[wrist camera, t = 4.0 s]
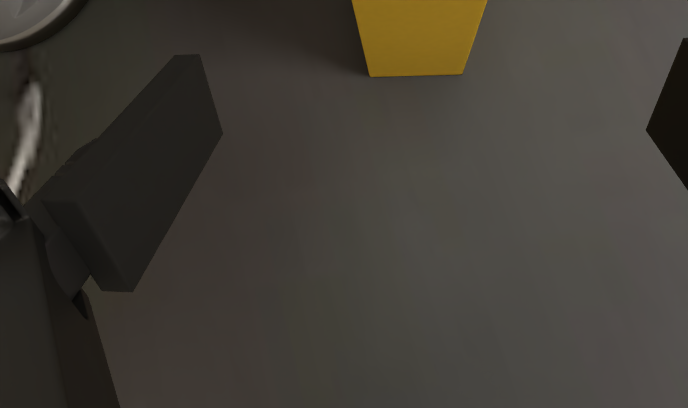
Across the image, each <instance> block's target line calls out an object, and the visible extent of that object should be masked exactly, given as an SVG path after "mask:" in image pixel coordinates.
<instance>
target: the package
mask: <svg viewBox="0 0 688 408" xmlns="http://www.w3.org/2000/svg"><path fill="white" fill-rule="evenodd" d="M486 3H487V0H352V4H353V9H354V13H355V17H356V21H357V25H358V29H359V34H360V38H361V42H362V46H363V50H364V55H365V59H366V63H367V67H368V71H369V75H370V77H384V76H421V75H458V74H462V73H463V70H464V67H465V64H466V61H467V59H468V56H469V53H470V50H471V47H472V44H473V41H474V38H475V35H476V32H477V29H478V26H479V23H480V20H481V18H482V15H483V12H484V9H485V6H486Z"/></svg>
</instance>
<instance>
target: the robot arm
mask: <svg viewBox="0 0 688 408" xmlns="http://www.w3.org/2000/svg"><path fill="white" fill-rule="evenodd" d="M87 1H88V0H0V52H6V51H14V50H19V49H23V48H26V47H29V46H32V45H34V44H37V43H39V42H41V41H43V40H45V39H47V38H49V37H50V36H52V35H53V34H55V33H57V32H58V31H59V30H61V29H62V28H63V27H64V26H66V25H67V24H68V23H69V22H70V21H71V20H72V19H73V18H74V17H75V16H76V15H77V14H78V13H79V12H80V10H81V9H82V8H83V7H84V5H85V4H86V3H87ZM646 131H647V133H648V134H649V136H650V137H651V138H652V140H653V141H654V143H655V144H656V146H657V147H658V148H659V150H660V151H661V153H662V154H663V156H664V157H665V158H666V160H667V161H668V163H669V164H670V166H671V167H672V168H673V170H674V171H675V173H676V174H677V176H678V177H679V178H680V180H681V181H682V183H683V184H684V186H685V187H686V188H687V190H688V38H683V40H682V42H681V45H680V47H679V50H678V52H677V55H676V57H675V60H674V62H673V65H672V67H671V69H670V72H669V74H668V77H667V79H666V82H665V84H664V87H663V89H662V91H661V94H660V96H659V99H658V101H657V104H656V106H655V109H654V111H653V113H652V116H651V118H650V121H649V123H648V126H647V128H646ZM222 134H223V132H222V129H221V125H220V122H219V119H218V115H217V112H216V109H215V105H214V102H213V99H212V95H211V92H210V89H209V85H208V82H207V79H206V75H205V72H204V68H203V65H202V62H201V58H200V55H199V54H194V55H175V56H174V57H173V58H172V59H171V60H170V61H169V62H168V63H167V64H166V65H165V66H164V68H163V69H162V70H161V71H160V72H159V73H158V74H157V75H156V76H155V77H154V78H153V79H152V80H151V81H150V83H149V84H148V85H147V86H146V87H145V88H144V89H143V90H142V91H141V92H140V93H139V94H138V95H137V97H136V98H135V99H134V100H133V101H132V102H131V103H130V104H129V105H128V106H127V107H126V108H125V109H124V111H123V112H122V113H121V114H120V115H119V116H118V117H117V118H116V119H115V120H114V121H113V122H112V123H111V124H110V126H109V127H108V128H107V129H106V130H105V131H104V132H103V133H102V134H101V135H100V136H99V137H98V138H95V139H94V140H92V141H91V142H89V143H87V144H86V145H84V146H83V147H81V148H79V149H78V150H77V151H76V152H75V153H74V154H73V155H72V156H71V157H70V158H69V159H68V160H67V161H66V162H65V165H62V166H61V167H60V168H59V169H58V170H57V171H56V173H55V176H52V177H51V178H50V179H49V180H48V181H47V182H46V183H45V184H44V185H43V186H42V187H41V188H40V189H39V190H38V191H37V192H36V193H35V194H34V195H33V197H32V198H31V199H30V200H29V201H28V202H27V203H26V204H25V205H24V206H22V205H21V203H20V202H19V200H18V199H17V198H16V196H15V195H14V194H13V192H12V191H11V189H10V188H9V187H8V185H7V184H6V182H5V181H4V180H3V179H0V408H120V405H119V402H118V398H117V395H116V391H115V388H114V384H113V381H112V378H111V374H110V371H109V367H108V364H107V360H106V357H105V353H104V350H103V346H102V343H101V339H100V336H99V333H98V329H97V326H96V322H95V319H94V315H93V312H92V308H91V305H90V301H89V298H88V296H87V295H86V293H85V292H84V290H83V289H82V288H81V287H82V286H83V284H84V283H85V281H86V280H87V278H88V277H89V275H90V274H91V276H92V277H93V279H94V280H95V282H96V283H97V285H98V286H99V287H100V289H101V290H102V291H115V292H133V291H134V289H135V287H136V286H137V284H138V282H139V280H140V279H141V277H142V275H143V273H144V271H145V270H146V268H147V266H148V264H149V263H150V261H151V259H152V257H153V256H154V254H155V252H156V250H157V249H158V247H159V245H160V243H161V242H162V240H163V238H164V236H165V235H166V233H167V231H168V229H169V228H170V226H171V224H172V222H173V221H174V219H175V217H176V215H177V214H178V212H179V210H180V208H181V206H182V205H183V203H184V201H185V199H186V198H187V196H188V194H189V192H190V191H191V189H192V187H193V185H194V184H195V182H196V180H197V178H198V177H199V175H200V173H201V171H202V170H203V168H204V166H205V164H206V163H207V161H208V159H209V157H210V156H211V154H212V152H213V150H214V148H215V147H216V145H217V143H218V141H219V140H220V138H221V136H222Z"/></svg>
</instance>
